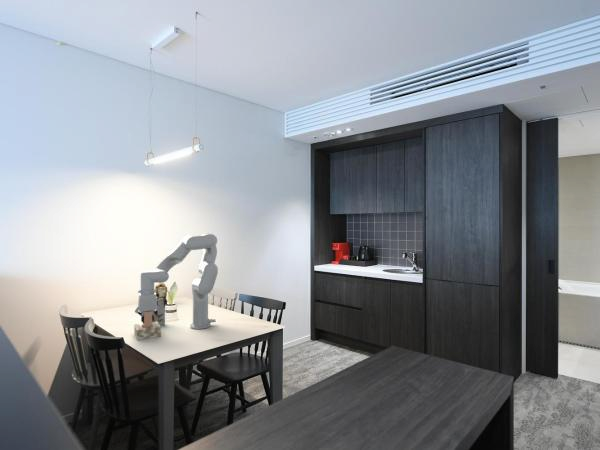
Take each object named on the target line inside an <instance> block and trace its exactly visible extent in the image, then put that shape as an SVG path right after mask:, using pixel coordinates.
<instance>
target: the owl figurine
mask: <svg viewBox="0 0 600 450" xmlns="http://www.w3.org/2000/svg"><path fill="white" fill-rule="evenodd" d="M168 291H169V290H168V287H167V286H166V284H165V282H163V283H157V284H155V285H154V293H156V297H157V299H162V300H165V306H166V305H168V304H167V301H168V300H167V295H168V294H167V293H168Z"/></svg>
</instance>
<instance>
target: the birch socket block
mask: <svg viewBox="0 0 600 450" xmlns="http://www.w3.org/2000/svg"><path fill="white" fill-rule="evenodd" d="M161 327H162V325H161V326H160V325H159V323H158V322H152V327H148V328H143V322H141V323H135V324H134V326H133V328H134V330H133V331H134V332H133V333H134V336H135V339H136V341H137V340H139V341H140V340H147V339H151V338H158V337H159V338H160V337H162V328H161Z"/></svg>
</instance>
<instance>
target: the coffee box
mask: <svg viewBox="0 0 600 450" xmlns="http://www.w3.org/2000/svg"><path fill="white" fill-rule="evenodd" d="M157 305H158V307H159V308H160V310H159V311H157V312H156V313H155V314H154V320H153V322H158V323H159V325H160V326H161V327H162V326H164V325H166V314H165V313H166V305H165V300H162V299H157ZM154 311H155V310H154Z"/></svg>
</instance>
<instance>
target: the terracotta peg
mask: <svg viewBox="0 0 600 450" xmlns="http://www.w3.org/2000/svg"><path fill="white" fill-rule="evenodd" d="M142 323H143V322H142ZM148 327H152V311H147V312H144V323H143V328H148Z"/></svg>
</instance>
